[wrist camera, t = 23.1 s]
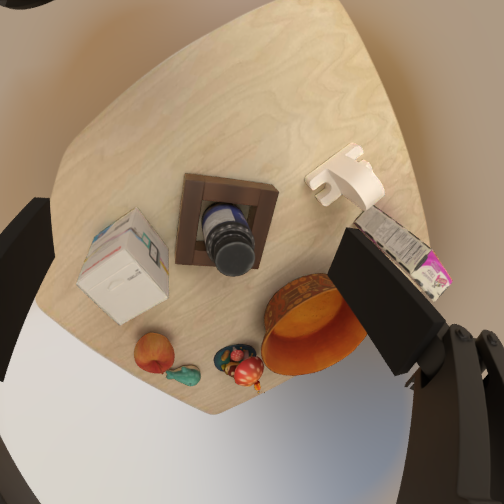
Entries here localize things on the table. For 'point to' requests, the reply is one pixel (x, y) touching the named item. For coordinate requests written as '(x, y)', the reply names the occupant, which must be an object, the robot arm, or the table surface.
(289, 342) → the bowl
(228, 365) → the figurine
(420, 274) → the candy bar box
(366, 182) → the cable organizer
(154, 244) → the ink box
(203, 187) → the dock
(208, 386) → the table surface
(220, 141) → the table surface
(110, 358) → the table surface
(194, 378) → the whale figurine
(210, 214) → the pill bottle
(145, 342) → the apple
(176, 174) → the table surface
